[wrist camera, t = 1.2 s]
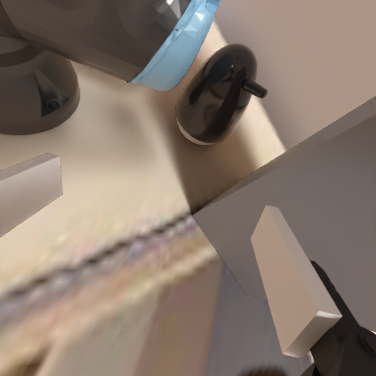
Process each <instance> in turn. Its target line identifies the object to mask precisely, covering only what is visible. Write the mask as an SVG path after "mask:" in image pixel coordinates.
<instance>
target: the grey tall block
mask: <svg viewBox="0 0 376 376" xmlns="http://www.w3.org/2000/svg"><path fill="white" fill-rule="evenodd" d="M266 205H269V206H273V207H277V208H279V210H280V212H281V213H282V215H283V217H284V218H285V220H286V222H287V224H288V225H289V227H290V229H291V230H292V232H293V234H294V235H295V237H296V239H297V240H298V242H299V244H300V246H301V247H302V249H303V251H304V252H305V254H306V256H307V257H308V259H309V260H312V261H315V262H316V263H317V264H318V265H319V266H320V267H321V268H322V269H323V270H324V271H325V272H326V274H327V276H328V277H329V279H330V280H331V283H333V285H334V286H335V288H336V291H337V292H338V293H339V294H340V296H341V297H342V299H343V300H344V302H345V304H346V305H347V307H348V308H349V310H350V311H351V313H352V314H353V316H354V318H355V319H356V321H357V322H358V324H359V325H360V326H361V327H364V328H366V329H368V330H370V331H374V332H376V96H375V97H373V98H372V99H370V100H369V101H367V102H365V103H364V104H362V105H361V106H359V107H357V108H356V109H354V110H353V111H351V112H349V113H348V114H346V115H344V116H343V117H341V118H340V119H338V120H336V121H335V122H333V123H332V124H330V125H328V126H327V127H325V128H323V129H322V130H320V131H319V132H317V133H315V134H314V135H312V136H311V137H309V138H307V139H306V140H304V141H303V142H301V143H299V144H298V145H297V146H295V147H293V148H291V149H290V150H288V151H286V152H285V153H283V154H282V155H280V156H278V157H277V158H275V159H274V160H272V161H270V162H269V163H267V164H266V165H264V166H262V167H261V168H259V169H258V170H256V171H254V172H253V173H251V174H249V175H248V176H246V177H245V178H243V179H242V180H240V181H239V182H237V183H236V184H235V185H233V186H232V187H231V188H229V189H228V190H226V191H225V192H224V193H222V194H221V195H220V196H218V197H217V198H215V199H214V200H213V201H211V202H210V203H209V204H207V205H206V206H204V207H203V208H202V209H200V210H199V211H198V212H196V213H195V214H193V215H192V216H193V218H194V219H195V221H196V222H197V223H198V225H199V226H200V228H201V229H202V231H203V232H204V234H205V235H206V237H207V238H208V239H209V241H210V242H211V244H212V245H213V247H214V248H215V250H216V251H217V253H218V254H219V255H220V257H221V258H222V260H223V261H224V263H225V264H226V266H227V267H228V269H229V270H230V271H231V273H232V274H233V276H234V277H235V279H236V280H237V282H238V283H239V285H240V286H241V287H242V289H243V290H244V292H245V293H246V295H248V296H252V297H255V298H259V299H262V300H266V301H268V299H267V296H266V292H265V288H264V285H263V281H262V278H261V274H260V270H259V267H258V263H257V260H256V256H255V252H254V249H253V245H252V242H251V237H252V235H253V232H254V230H255V228H256V226H257V224H258V221H259V219H260V217H261V215H262V213H263V211H264V208H265V206H266Z"/></svg>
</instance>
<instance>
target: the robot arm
mask: <svg viewBox="0 0 376 376" xmlns="http://www.w3.org/2000/svg"><path fill="white" fill-rule="evenodd" d="M220 1H221V0H0V133H1V134H9V135H27V134H34V133H39V132H43V131H47V130H49V129H52V128H54V127H56V126H58V125H60V124H62V123H63V122H64V121H66V120H67V119H68V118H69V117H70V116H71V115H72V114H73V113H74V111H75V110H76V108H77V106H78V103H79V100H80V88H79V84H78V79H77V75H76V72H75V70H74V68H73V66H72V64H71V63H70V61H69V59H70V60H73V61H75V62H78V63H81V64H83V65H86V66H88V67H91V68H94V69H96V70H99V71H101V72H104V73H107V74H109V75H112V76H115V77H117V78H120V79H122V80H125V81H127V83H128V84H133V85H135V84H138V85H141V86H144V87H147V88H151V89H154V90H157V91H167V90H171V89H173V88H174V87H176V86H177V85H178V84H179V83H180V82H181V80H182V79H183V78H184V76H185V75H186V73H187V72H188V70H189V68H190V67H191V65H192V63H193V61H194V59H195V58H196V56H197V54H198V52H199V50H200V48H201V46H202V44H203V42H204V40H205V38H206V36H207V33H208V31H209V29H210V26H211V24H212V22H213V18H214V12H215V11H216V10H217V7H218V5H219V3H220ZM61 195H63V192H62V180H61V169H60V157H59V156H57V155H53V154H49V153H47V154H44V155H41V156H39V157H36V158H33V159H31V160H28V161H25V162H23V163H20V164H17V165H14V166H12V167H9V168H6V169H4V170H1V171H0V237H2V236H3V235H5V234H6V233H8V232H9V231H11V230H12V229H13V228H15V227H16V226H18V225H19V224H21V223H22V222H24V221H25V220H26V219H28V218H29V217H31V216H32V215H34V214H35V213H37V212H38V211H39V210H41V209H42V208H44V207H45V206H47V205H48V204H50V203H51V202H52V201H54V200H55V199H57V198H58V197H60V196H61ZM251 242H252V245H253V249H254V252H255V256H256V260H257V263H258V267H259V270H260V274H261V278H262V281H263V285H264V288H265V292H266V296H267V299H268V303H269V306H270V310H271V314H272V317H273V321H274V324H275V328H276V332H277V335H278V339H279V342H280V346H281V350H282V353H283V354H285V355H289V356H293V357H298V358H303V357H304V356H305V355H306V354H307V353H308V352H309V351H311V354H312V356H313V359H314V361H315V362H314V363H313V364H312V365H311V366H310V367H309V368H308V369H307V370H306V371H305V372H304V373H303V374H302V375H301V376H376V335H375V334H374V333H373V332H371V331H369V330H368V329H366V328H364V327H361V326H360V325H359V324H358V322H357V321H356V319H355V318H354V316H353V314H352V313H351V311H350V310H349V308H348V307H347V305H346V304H345V302H344V300H343V299H342V297H341V296H340V294H339V293H338V292H337V291H336V288H335V286H334V285H333V283H331V280H330V279H329V277H328V276H327V274H326V272H325V271H324V270H323V269H322V268H321V267H320V266H319V265H318V264H317V263H316V262H315V261H312V260H309V259H308V257H307V256H306V254H305V252H304V251H303V249H302V247H301V246H300V244H299V242H298V240H297V239H296V237H295V235H294V234H293V232H292V230H291V229H290V227H289V225H288V224H287V222H286V220H285V218H284V217H283V215H282V213H281V212H280V210H279V208H277V207H273V206H269V205H266V206H265V208H264V211H263V213H262V215H261V217H260V219H259V221H258V224H257V226H256V228H255V230H254V232H253V235H252V237H251Z"/></svg>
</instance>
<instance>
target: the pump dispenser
mask: <svg viewBox="0 0 376 376" xmlns="http://www.w3.org/2000/svg"><path fill="white" fill-rule="evenodd" d="M257 71H258V63H257V59H256V56H255V54H254V52H253V51H252V50H251V49H250V48H249V47H248V46H246V45H244V44H240V43H232V44H229V45H226V46H224V47H223V48H221V49H219V50H218V51H216V52H215V53H214V54H213V55H211V56H210V57H209V58H208V59H207V60H206V61H205V62H204V63H203V64H202V65H201V66H200V67H199V68H198V69H197V70H196V71H195V73H194V74H193V75H192V76H191V78H190V79H189V80H188V82H187V83H186V85H185V87H184V88H183V90H182V91H181V93H180V95H179V97H178V100H177V102H176V107H175V112H176V119H177V124H178V127H179V129H180V131H181V132H182V134H183V135H184V136H185V137H186V138H187V139H188V140H190V141H191V142H193V143H196V144H199V145H211V144H215V143H219V142H221V141H223V140H225V139H226V138H228V137H229V135H230V134H231V133H232V132H233V131H234V129H235V128H236V126H237V125H238V123H239V122H240V120H241V118H242V116H243V114H244V113H245V110H246V108H247V106H248V104H249V101H250V99H251V96H252V94H253V95H255V96H257V97H259V98H261V99H263V98H264V97H266V95H267V93H268V91H267V90H266V89H265V88H264V87H262V86H261V85H259V84H258V83H257V82H256V79H257Z"/></svg>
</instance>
